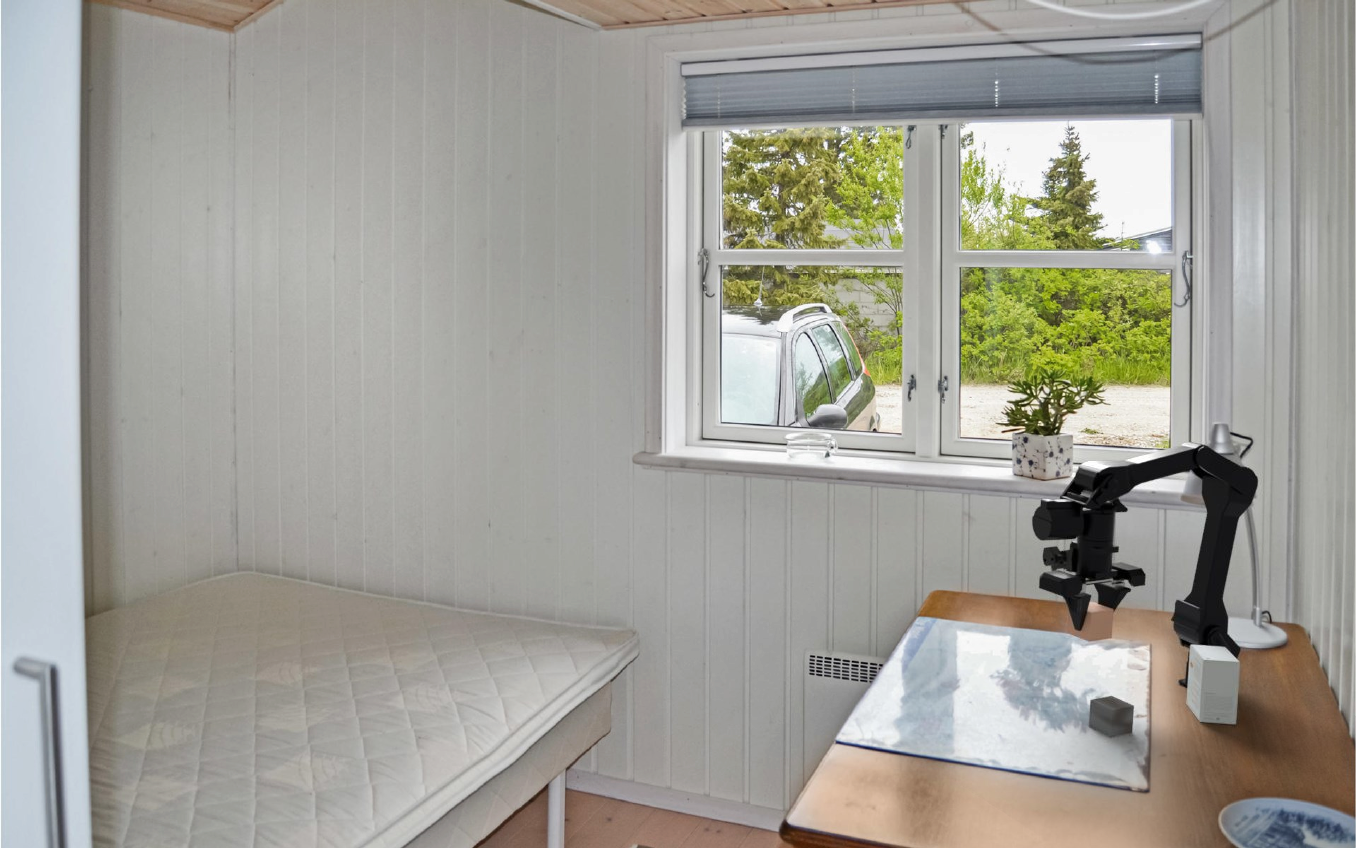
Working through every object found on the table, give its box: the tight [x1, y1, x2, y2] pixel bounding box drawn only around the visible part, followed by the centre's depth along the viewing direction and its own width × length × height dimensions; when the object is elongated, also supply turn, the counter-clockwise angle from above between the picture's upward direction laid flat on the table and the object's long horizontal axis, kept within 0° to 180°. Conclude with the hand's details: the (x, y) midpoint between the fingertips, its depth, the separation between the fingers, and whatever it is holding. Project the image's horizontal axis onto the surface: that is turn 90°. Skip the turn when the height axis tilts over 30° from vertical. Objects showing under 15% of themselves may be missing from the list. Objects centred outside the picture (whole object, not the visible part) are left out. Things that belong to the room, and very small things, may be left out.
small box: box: [1186, 645, 1241, 725], centre depth 173 cm, size 8×6×10 cm
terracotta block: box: [1066, 600, 1115, 643], centre depth 180 cm, size 5×5×5 cm
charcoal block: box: [1088, 695, 1135, 738], centre depth 167 cm, size 4×4×4 cm
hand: (1089, 628), depth 180 cm, fingers closed on terracotta block, 5 cm apart
